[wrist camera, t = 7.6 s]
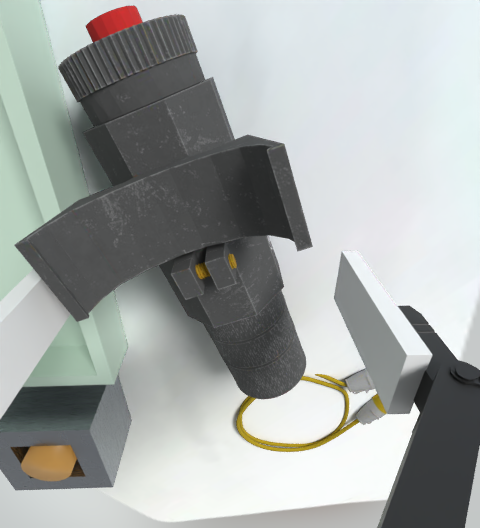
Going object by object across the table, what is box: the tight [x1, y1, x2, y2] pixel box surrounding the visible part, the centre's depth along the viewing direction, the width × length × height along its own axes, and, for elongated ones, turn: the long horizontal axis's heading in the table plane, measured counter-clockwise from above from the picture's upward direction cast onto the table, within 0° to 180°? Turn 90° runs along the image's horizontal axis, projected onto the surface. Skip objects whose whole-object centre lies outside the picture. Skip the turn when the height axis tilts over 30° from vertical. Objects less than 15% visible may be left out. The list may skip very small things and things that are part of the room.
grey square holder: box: [0, 375, 132, 490], centre depth 28 cm, size 8×8×6 cm
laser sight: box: [14, 6, 313, 399], centre depth 18 cm, size 10×22×10 cm, turn 20°
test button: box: [21, 445, 77, 481], centre depth 27 cm, size 4×4×5 cm
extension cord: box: [236, 369, 387, 452], centre depth 32 cm, size 12×16×2 cm
